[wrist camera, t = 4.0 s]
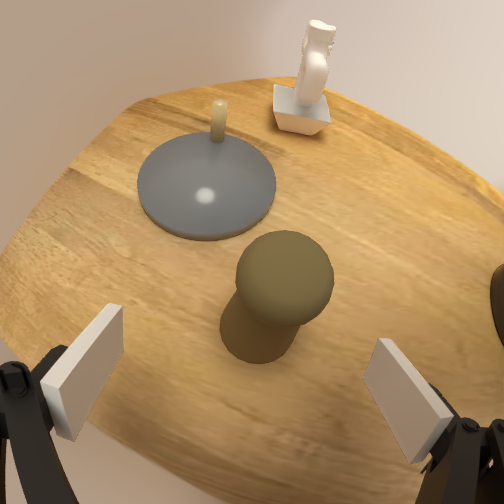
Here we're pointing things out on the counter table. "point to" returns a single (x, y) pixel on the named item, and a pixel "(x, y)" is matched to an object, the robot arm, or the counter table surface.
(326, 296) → the brown rounded upright piece
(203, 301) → the counter table surface
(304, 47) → the figurine
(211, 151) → the coaster plate
